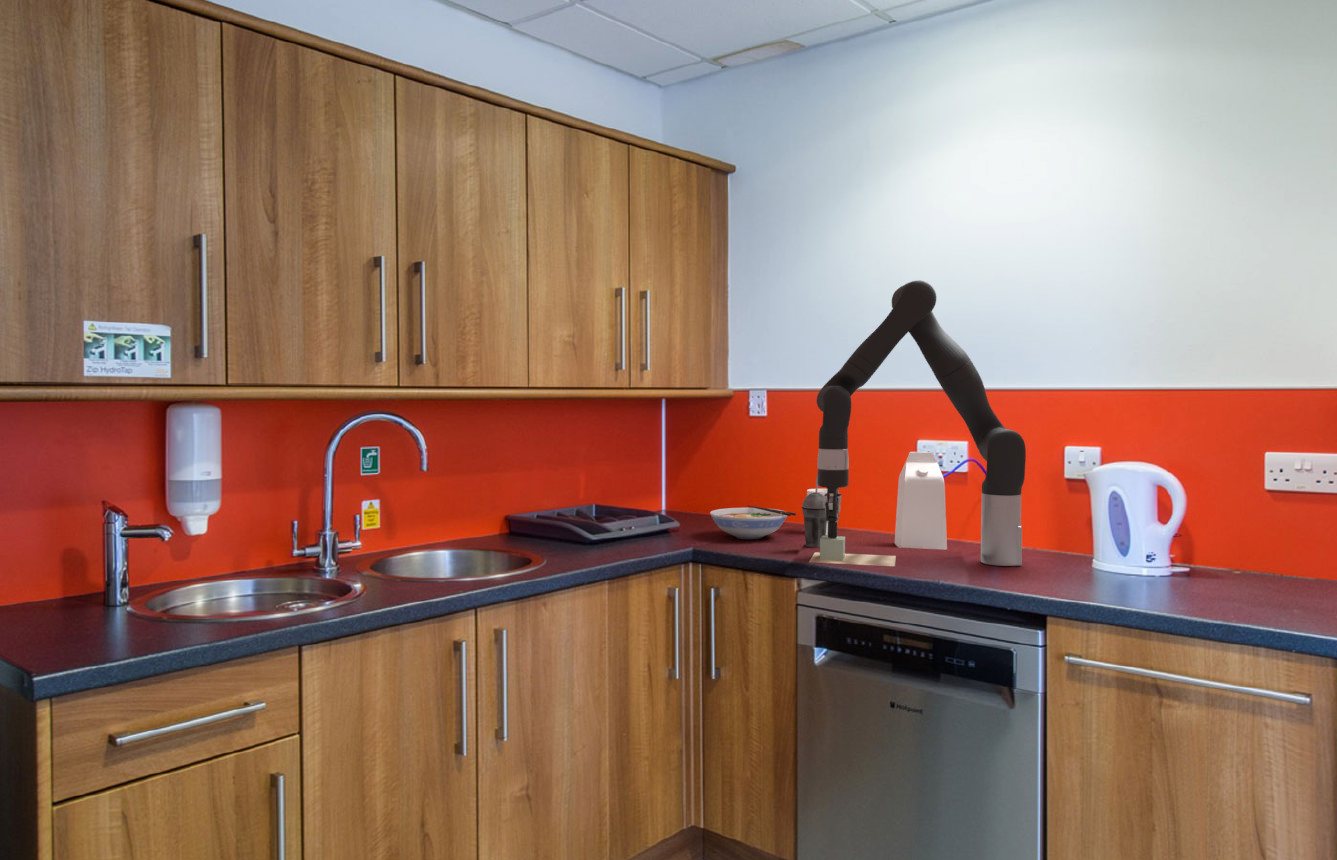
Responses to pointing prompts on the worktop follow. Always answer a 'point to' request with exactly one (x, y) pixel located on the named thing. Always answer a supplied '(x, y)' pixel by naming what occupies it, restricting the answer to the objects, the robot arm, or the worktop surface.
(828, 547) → the grey-green block
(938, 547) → the milk
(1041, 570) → the worktop surface
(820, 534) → the beverage cup
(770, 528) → the ramen bowl
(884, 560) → the post board
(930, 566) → the worktop surface
